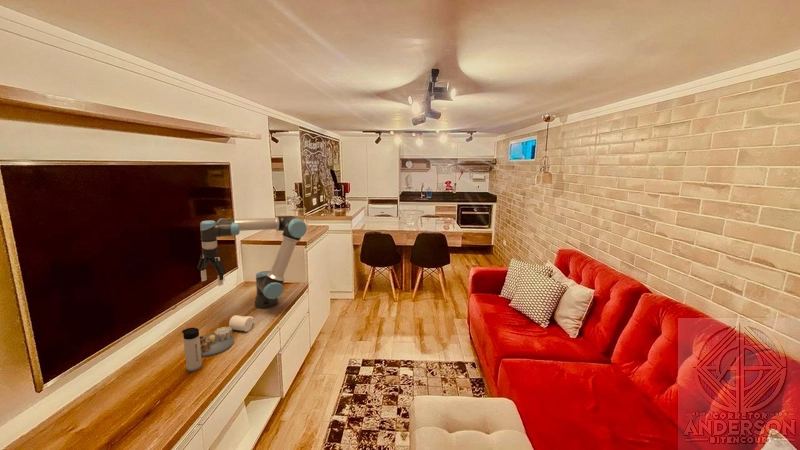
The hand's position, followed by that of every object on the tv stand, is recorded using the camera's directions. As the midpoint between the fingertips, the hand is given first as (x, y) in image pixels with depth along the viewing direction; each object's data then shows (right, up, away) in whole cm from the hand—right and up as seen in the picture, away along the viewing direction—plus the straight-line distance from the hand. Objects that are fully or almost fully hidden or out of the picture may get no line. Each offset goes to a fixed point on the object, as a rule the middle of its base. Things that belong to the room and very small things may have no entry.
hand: (212, 282), depth 187 cm
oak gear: (+7, -30, -21) cm, 38 cm away
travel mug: (+11, -35, -33) cm, 49 cm away
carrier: (+9, -31, -15) cm, 35 cm away
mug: (+16, -28, +4) cm, 32 cm away
